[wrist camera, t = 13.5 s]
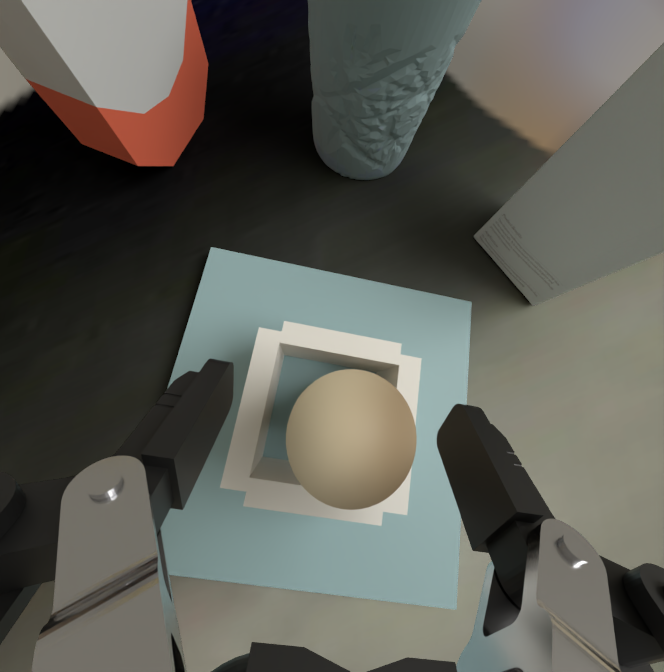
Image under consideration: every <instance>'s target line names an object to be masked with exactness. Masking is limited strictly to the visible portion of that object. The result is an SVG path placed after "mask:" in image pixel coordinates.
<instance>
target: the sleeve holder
mask: <svg viewBox="0 0 664 672" xmlns="http://www.w3.org/2000/svg"><path fill="white" fill-rule="evenodd" d="M471 304H472V302H470V301H465V300H460V299H455V298H451V297H446V296H441V295H436V294H432V293H427V292H422V291H417V290H413V289H408V288H403V287H398V286H394V285H389V284H384V283H379V282H375V281H370V280H365V279H360V278H356V277H351V276H346V275H341V274H337V273H332V272H327V271H322V270H318V269H313V268H308V267H303V266H299V265H294V264H289V263H284V262H280V261H275V260H270V259H265V258H261V257H256V256H251V255H246V254H242V253H237V252H232V251H227V250H223V249H218V248H213V247H211V249H210V252H209V256H208V259H207V262H206V265H205V269H204V272H203V275H202V278H201V282H200V285H199V288H198V291H197V294H196V298H195V301H194V304H193V307H192V311H191V314H190V317H189V320H188V324H187V327H186V330H185V333H184V336H183V340H182V343H181V346H180V349H179V353H178V356H177V359H176V362H175V366H174V369H173V372H172V375H171V378H170V382H169V385H168V388H169V386H170V385H171V384H172V383H173V381H174V380H175V379H177V378H179V377H180V376H182V375H183V374H185V373H187V372H188V371H194V372H199V371H200V370H201V369H202V367H203V366H204V364H205V363H206V362H207V360H208V359H216V360H222V361H228V362H232V363H233V365H234V387H233V401H232V405H231V408H230V411H229V413H228V415H227V417H226V420H225V422H224V424H223V426H222V428H221V430H220V432H219V434H218V437H217V439H216V441H215V443H214V445H213V447H212V449H211V451H210V454H209V456H208V458H207V460H206V462H205V464H204V466H203V469H202V471H201V473H200V475H199V477H198V479H197V481H196V483H195V486H194V488H193V490H192V492H191V494H190V496H189V498H188V500H187V503H186V505H185V507H184V509H183V510H179V509H171V508H170V510H169V512H168V514H167V516H166V518H165V520H164V522H163V524H162V526H161V530H162V536H163V542H164V548H165V554H166V560H167V566H168V572H169V575H175V576H183V577H191V578H200V579H208V580H216V581H224V582H233V583H241V584H249V585H257V586H266V587H274V588H282V589H290V590H299V591H307V592H315V593H323V594H332V595H340V596H348V597H356V598H365V599H373V600H381V601H389V602H398V603H406V604H414V605H422V606H431V607H439V608H447V609H455V610H456V606H457V586H458V566H459V546H460V526H461V515H460V512H459V509H458V506H457V503H456V500H455V497H454V494H453V492H452V489H451V486H450V483H449V480H448V477H447V474H446V471H445V468H444V465H443V462H442V459H441V457H440V454H439V451H438V448H437V433H438V430H439V429H440V427H441V425H442V424H443V422H444V421H445V419H446V417H447V416H448V414H449V413H450V411H451V409H452V408H453V406H454V405H456V404H464V405H467V384H468V364H469V344H470V324H471ZM345 369H357V370H364V371H368V372H371V373H374V374H376V375H378V376H380V377H382V378H384V379H385V380H387V381H388V382H390V383H391V384H392V385H393V386H394V387H395V388H396V389H397V390H398V391H399V392H400V393H401V394H402V396H403V397H404V399H405V400H406V402H407V403H408V406H409V408H410V410H411V412H412V415H413V418H414V422H415V426H416V435H417V444H416V452H415V457H414V461H413V464H412V467H411V469H410V471H409V473H408V475H407V477H406V479H405V480H404V482H403V483H402V484H401V486H400V487H399V488H398V489H397V490H396V491H395V492H394V493H393V494H392V495H391V496H389V497H388V498H387V499H385V500H384V501H382V502H380V503H378V504H376V505H373V506H371V507H368V508H363V509H356V510H346V509H339V508H335V507H332V506H329V505H326V504H324V503H322V502H321V501H319V500H317V499H316V498H314V497H313V496H312V495H310V494H309V493H308V492H307V491H306V490H305V489H304V488H303V486H302V485H301V484H300V482H299V481H298V480H297V478H296V476H295V474H294V473H293V471H292V468H291V465H290V463H289V459H288V455H287V449H286V430H287V424H288V420H289V416H290V414H291V411H292V409H293V406H294V404H295V403H296V401H297V399H298V397H299V396H300V394H301V393H302V392H303V391H304V390H305V389H306V388H307V387H308V386H309V385H311V384H312V383H313V382H314V381H316V380H317V379H319V378H320V377H322V376H324V375H326V374H329V373H331V372H335V371H338V370H345ZM168 388H167V389H168Z"/></svg>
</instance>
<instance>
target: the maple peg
mask: <svg viewBox="0 0 664 672" xmlns="http://www.w3.org/2000/svg"><path fill="white" fill-rule="evenodd" d="M416 444H417V435H416V426H415V422H414V418H413V415H412V412H411V410H410V408H409V406H408V403H407V402H406V400H405V399H404V397H403V396H402V394H401V393H400V392H399V391H398V390H397V389H396V388H395V387H394V386H393V385H392V384H391V383H390V382H388V381H387V380H385V379H384V378H382V377H380V376H378V375H376V374H374V373H371V372H368V371H364V370H357V369H345V370H338V371H335V372H331V373H329V374H326V375H324V376H322V377H320V378H319V379H317V380H316V381H314V382H313V383H312V384H311V385H309V386H308V387H307V388H306V389H305V390H304V391H303V392H302V393H301V394H300V396H299V397H298V399H297V401H296V403H295V404H294V406H293V409H292V411H291V414H290V416H289V420H288V424H287V430H286V449H287V455H288V459H289V463H290V465H291V468H292V471H293V473H294V474H295V476H296V478H297V480H298V481H299V482H300V484H301V485H302V486H303V488H304V489H305V490H306V491H307V492H308V493H309V494H310V495H312V496H313V497H314V498H316V499H317V500H319V501H321V502H322V503H324V504H326V505H329V506H332V507H335V508H339V509H346V510H356V509H363V508H368V507H371V506H373V505H376V504H378V503H380V502H382V501H384V500H385V499H387V498H388V497H389V496H391V495H392V494H393V493H394V492H395V491H396V490H397V489H398V488H399V487H400V486H401V484H402V483H403V482H404V480H405V479H406V477H407V475H408V473H409V471H410V469H411V467H412V464H413V461H414V457H415V452H416Z"/></svg>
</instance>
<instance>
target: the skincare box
mask: <svg viewBox="0 0 664 672" xmlns="http://www.w3.org/2000/svg"><path fill="white" fill-rule="evenodd" d="M473 237H474V238H475V239H476V241H477V242H478V243H479V244H480V245H481V246H482V247H483V249H484V250H485V251H486V252H487V253H488V254H489V255H490V257H491V258H492V259H493V260H494V261H495V262H496V264H497V265H498V266H499V267H500V268H501V269H502V271H503V272H504V273H505V274H506V275H507V276H508V277H509V279H510V280H511V281H512V282H513V283H514V284H515V286H516V287H517V288H518V289H519V290H520V291H521V292H522V294H523V295H524V296H525V297H526V298H527V299H528V301H529V302H530V303H531V304H532V305H533V306H535V305H538V304H541V303H543V302H545V301H548V300H550V299H553V298H555V297H557V296H560V295H562V294H564V293H567V292H569V291H572V290H574V289H576V288H579V287H581V286H584V285H586V284H589V283H591V282H593V281H596V280H598V279H601V278H603V277H605V276H608V275H610V274H613V273H615V272H617V271H620V270H622V269H625V268H627V267H630V266H632V265H635V264H637V263H639V262H642V261H644V260H647V259H649V258H651V257H654V256H656V255H659V254H661V253H664V43H663V44H662V45H661V46H660V47H659V48H658V49H657V50H656V51H655V52H654V53H653V54H652V55H651V56H650V57H649V58H648V59H647V60H646V61H645V62H644V63H643V64H642V65H641V66H640V67H639V68H638V69H637V70H636V71H635V72H634V73H633V75H632V76H631V77H630V78H629V79H628V80H627V81H626V82H625V83H624V84H623V85H622V86H621V87H620V88H619V89H618V90H617V91H616V92H615V93H614V94H613V95H612V96H611V97H610V98H609V99H608V100H607V101H606V102H605V103H604V104H603V105H602V106H601V107H600V108H599V109H598V110H597V111H596V112H595V113H594V114H593V115H592V116H591V117H590V118H589V119H588V120H587V121H586V122H585V123H584V124H583V125H582V126H581V127H580V128H579V129H578V130H577V131H576V132H575V133H574V134H573V135H572V136H571V137H570V138H569V139H568V140H567V141H566V142H565V144H563V145H562V146H561V147H560V149H558V150H557V152H556V153H555V154H554V155H553V156H552V157H551V158H550V159H549V160H548V161H547V162H546V163H545V164H544V165H543V166H542V167H541V168H540V169H539V170H538V171H537V172H536V173H535V174H534V175H533V176H532V177H531V178H530V179H529V180H528V181H527V182H526V183H525V184H524V185H523V186H522V187H521V188H520V189H519V190H518V191H517V192H516V193H515V194H514V195H513V196H512V197H511V198H510V199H509V200H508V201H507V202H506V203H505V204H504V205H503V206H502V207H501V208H500V209H499V210H498V211H497V212H496V213H495V214H494V215H493V216H492V217H491V219H490V220H489V221H488V222H487V223H486V224H485V225H484V226H483V227H482V228H481V229H480V230H479V231H478V232H477V233H476V234H475V235H474V236H473Z"/></svg>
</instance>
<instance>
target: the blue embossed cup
mask: <svg viewBox="0 0 664 672" xmlns="http://www.w3.org/2000/svg"><path fill="white" fill-rule="evenodd" d="M480 2H481V0H308V10H309V16H308V21H309V23H308V28H309V37H310V60H311V79H312V84H313V87H312V89H313V93H314V97H313V100H312V126H313V139H314V144H315V147H316V150H317V152H318V154H319V156H320V157H321V159H322V160H323V162H324V163H325V164H326V165H327V166H328V167H330V168H331V169H332V170H334V171H335V172H337V173H340V175H341V176H345V177H349V178H350V179H356V180H372V179H377V178H382V177H385V176H387V175H388V174H390V173H391V172H392V171H394V170H395V169H396V168H397V166H398V165H399V164H400V163H401V161H402V160H403V158H404V156H405V154H406V152H407V150H408V148H409V146H410V143H411V141H412V139H413V136H414V134H415V133H416V130H417V128H418V126H419V125H420V123H421V120H422V119H423V117H424V115H425V114H426V111H427V109H428V106H429V103H430V102H431V101H432V99H433V97H434V94H435V91H436V90H437V88H438V87H439V85H440V83H441V81H442V79H443V76H444V74H445V72H446V70H447V68H448V66H449V64H450V61H451V59H452V57H453V53H454V48H455V46H456V44H457V43H458V42H459V40H460V39H461V38H462V37H463V35H464V34H465V31H466V30H467V27H468V26H469V23H470V22H471V20H472V18H473V16H474V14H475V12H476V10H477V8H478V6H479V3H480Z"/></svg>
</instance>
